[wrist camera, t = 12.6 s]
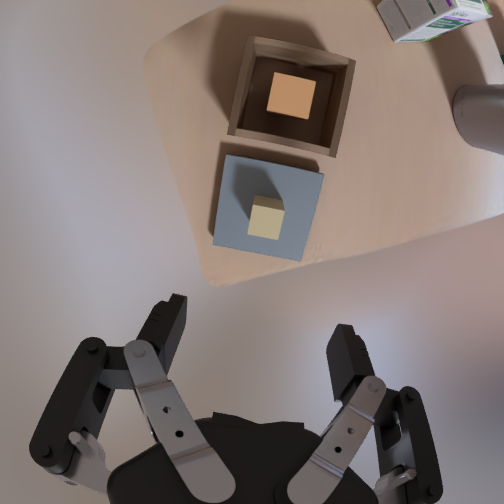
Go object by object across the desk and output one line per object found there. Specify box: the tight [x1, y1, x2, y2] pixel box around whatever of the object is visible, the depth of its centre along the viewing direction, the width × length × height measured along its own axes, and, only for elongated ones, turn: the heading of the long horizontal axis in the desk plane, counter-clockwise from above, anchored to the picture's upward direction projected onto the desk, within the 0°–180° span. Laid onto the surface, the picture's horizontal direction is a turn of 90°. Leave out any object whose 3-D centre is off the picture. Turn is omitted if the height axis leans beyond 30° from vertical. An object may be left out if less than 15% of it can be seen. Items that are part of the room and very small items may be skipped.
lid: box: [213, 154, 324, 261], centre depth 30 cm, size 11×11×6 cm
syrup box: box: [377, 0, 493, 42], centre depth 13 cm, size 6×6×14 cm
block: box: [267, 72, 316, 120], centre depth 24 cm, size 4×4×4 cm
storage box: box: [227, 36, 356, 158], centre depth 23 cm, size 10×10×6 cm
